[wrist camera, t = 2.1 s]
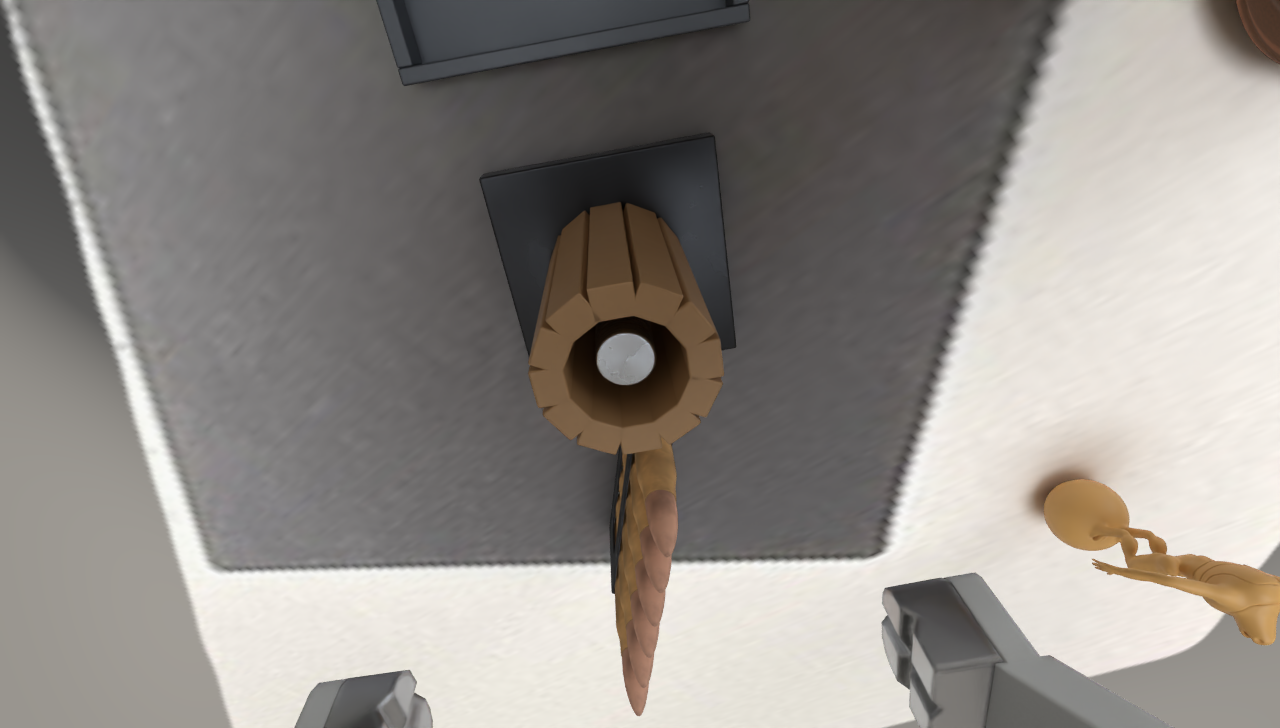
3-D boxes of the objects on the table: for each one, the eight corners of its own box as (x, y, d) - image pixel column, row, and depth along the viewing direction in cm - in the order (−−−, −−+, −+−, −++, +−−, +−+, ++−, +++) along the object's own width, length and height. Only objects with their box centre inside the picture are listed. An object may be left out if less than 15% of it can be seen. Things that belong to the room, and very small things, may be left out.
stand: (482, 173, 27) (426, 239, 18) (710, 132, 27) (767, 177, 18) (537, 373, 31) (514, 504, 23) (732, 339, 31) (786, 457, 22)
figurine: (985, 514, 38) (1138, 699, 27) (1024, 432, 35) (1210, 601, 24) (1110, 520, 39) (1305, 702, 28) (1157, 440, 36) (1392, 607, 25)
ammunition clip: (629, 368, 32) (644, 534, 21) (664, 371, 32) (698, 536, 21) (609, 528, 36) (614, 729, 26) (640, 530, 37) (658, 730, 26)
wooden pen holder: (537, 216, 27) (507, 303, 18) (673, 192, 27) (712, 266, 18) (567, 340, 30) (554, 467, 21) (691, 318, 29) (731, 437, 21)
